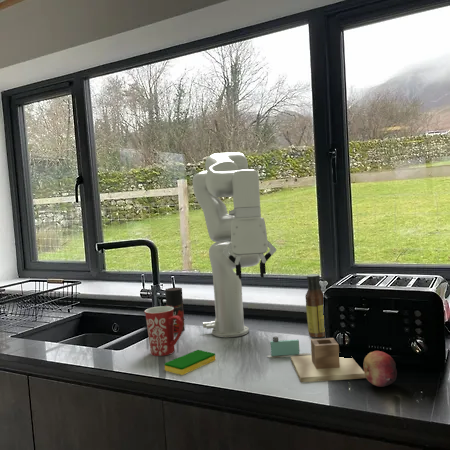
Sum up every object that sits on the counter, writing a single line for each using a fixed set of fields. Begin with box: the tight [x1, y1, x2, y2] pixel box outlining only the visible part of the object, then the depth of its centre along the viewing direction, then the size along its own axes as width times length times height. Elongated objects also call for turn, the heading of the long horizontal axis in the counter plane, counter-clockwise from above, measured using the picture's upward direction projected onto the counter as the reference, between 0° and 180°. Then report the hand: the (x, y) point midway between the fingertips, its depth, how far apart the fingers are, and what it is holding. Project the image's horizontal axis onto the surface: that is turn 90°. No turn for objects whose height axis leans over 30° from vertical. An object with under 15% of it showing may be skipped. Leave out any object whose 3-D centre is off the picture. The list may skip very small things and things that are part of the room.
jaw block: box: [310, 337, 340, 369], centre depth 128 cm, size 6×6×6 cm
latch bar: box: [269, 336, 300, 356], centre depth 139 cm, size 8×2×5 cm, turn 91°
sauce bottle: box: [304, 273, 326, 339], centre depth 157 cm, size 7×6×20 cm
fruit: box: [362, 350, 398, 388], centre depth 115 cm, size 8×8×8 cm
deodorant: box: [165, 287, 185, 334], centre depth 174 cm, size 6×6×15 cm
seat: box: [267, 352, 367, 383], centre depth 130 cm, size 22×21×4 cm
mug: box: [144, 305, 183, 357], centre depth 149 cm, size 13×9×14 cm
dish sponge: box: [164, 349, 216, 376], centre depth 137 cm, size 7×14×2 cm, turn 140°
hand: (251, 276), depth 138 cm, fingers open, 5 cm apart
